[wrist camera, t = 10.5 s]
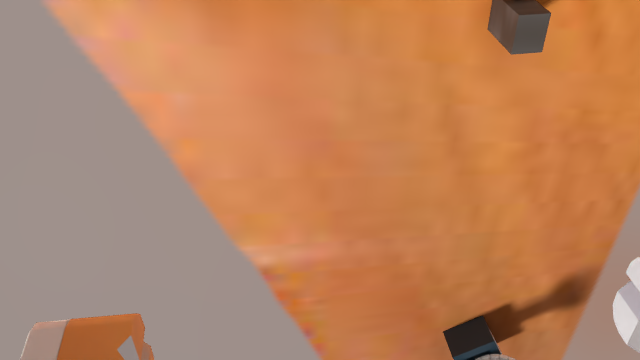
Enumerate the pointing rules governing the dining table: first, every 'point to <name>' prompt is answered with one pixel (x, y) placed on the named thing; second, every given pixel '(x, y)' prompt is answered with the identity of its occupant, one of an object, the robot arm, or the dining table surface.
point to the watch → (473, 342)
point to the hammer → (519, 25)
